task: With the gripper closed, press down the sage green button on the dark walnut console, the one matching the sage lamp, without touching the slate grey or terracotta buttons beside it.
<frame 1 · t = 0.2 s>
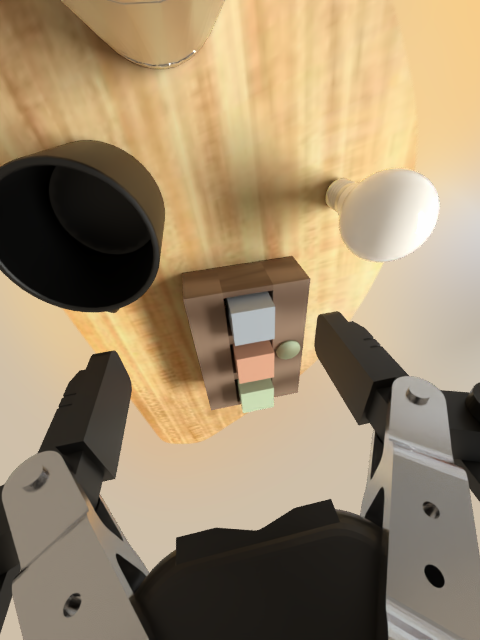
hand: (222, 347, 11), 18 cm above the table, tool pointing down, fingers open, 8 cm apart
console: (243, 327, 34), on the table
sage button: (253, 386, 34), point 5 cm above the table, slide at 0.0 cm
slate button: (249, 312, 26), point 5 cm above the table, slide at 0.0 cm
lightbulb: (334, 191, 25), on the table
mug: (111, 220, 23), on the table
terracotta button: (251, 354, 30), point 5 cm above the table, slide at 0.0 cm
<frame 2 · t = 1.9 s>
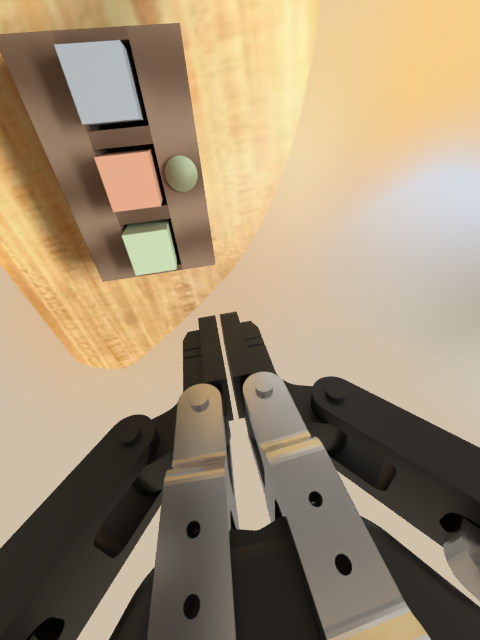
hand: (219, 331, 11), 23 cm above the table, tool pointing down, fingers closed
console: (140, 172, 27), on the table
sage button: (152, 245, 27), point 5 cm above the table, slide at 0.0 cm
slate button: (107, 88, 19), point 5 cm above the table, slide at 0.0 cm
terracotta button: (133, 179, 23), point 5 cm above the table, slide at 0.0 cm
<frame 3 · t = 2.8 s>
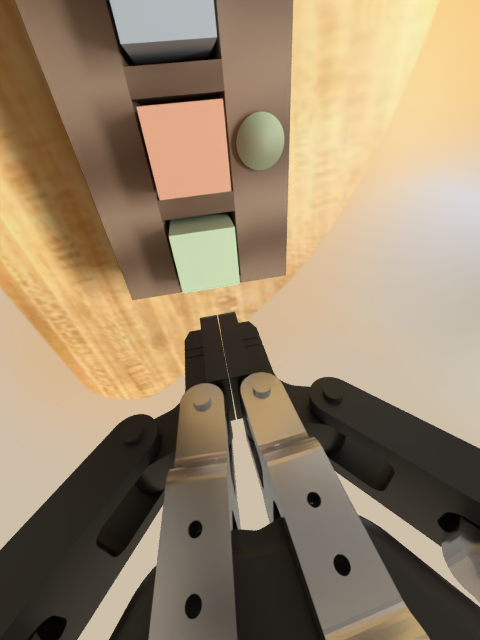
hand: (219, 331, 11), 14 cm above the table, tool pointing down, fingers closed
console: (186, 145, 19), on the table
sage button: (204, 249, 19), point 5 cm above the table, slide at 0.0 cm
terracotta button: (187, 150, 15), point 5 cm above the table, slide at 0.0 cm
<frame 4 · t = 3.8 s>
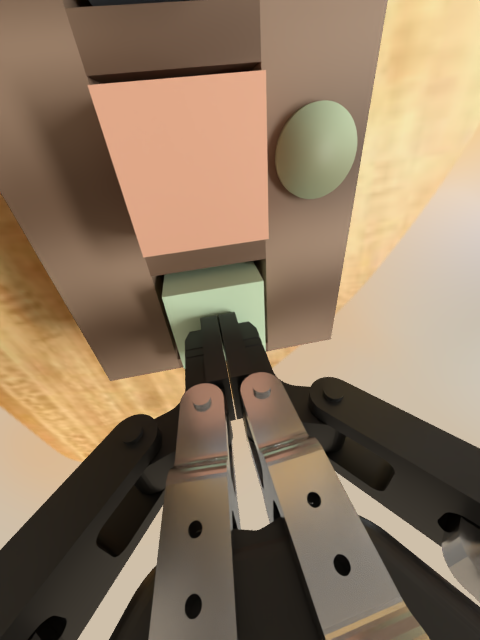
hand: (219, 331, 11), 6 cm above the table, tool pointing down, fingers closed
console: (189, 155, 13), on the table
sage button: (214, 301, 13), point 4 cm above the table, slide at 0.9 cm, touching gripper
terracotta button: (192, 167, 9), point 5 cm above the table, slide at 0.0 cm
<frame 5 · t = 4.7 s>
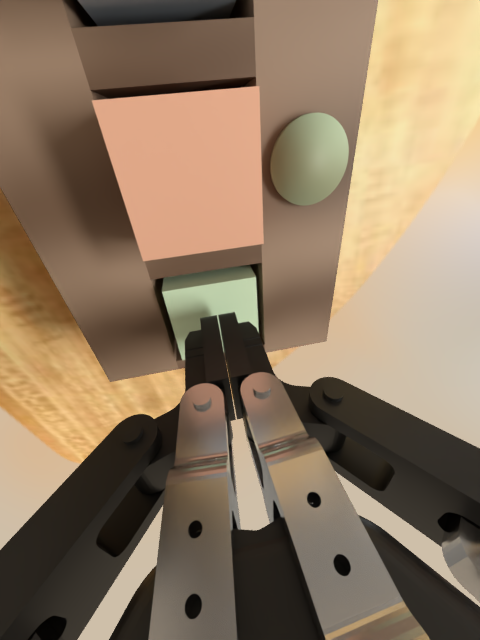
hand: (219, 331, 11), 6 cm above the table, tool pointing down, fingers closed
console: (188, 162, 13), on the table
sage button: (211, 297, 14), point 3 cm above the table, slide at 1.5 cm
terracotta button: (191, 175, 9), point 5 cm above the table, slide at 0.0 cm
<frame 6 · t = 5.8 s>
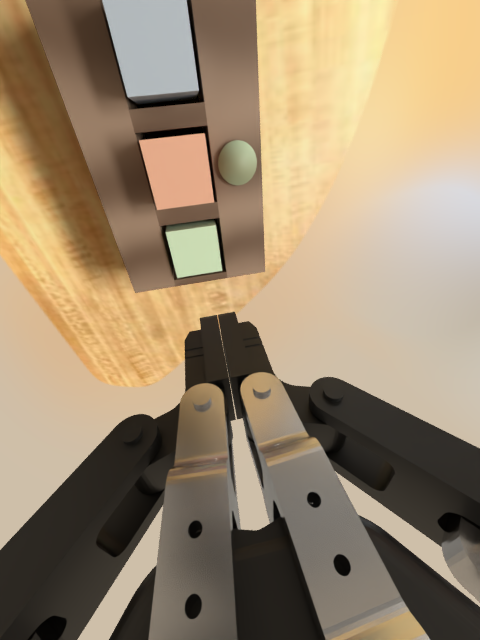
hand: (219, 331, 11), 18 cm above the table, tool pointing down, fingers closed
console: (180, 163, 23), on the table
sage button: (194, 243, 24), point 3 cm above the table, slide at 1.5 cm
slate button: (156, 53, 15), point 5 cm above the table, slide at 0.0 cm
terracotta button: (179, 170, 19), point 5 cm above the table, slide at 0.0 cm
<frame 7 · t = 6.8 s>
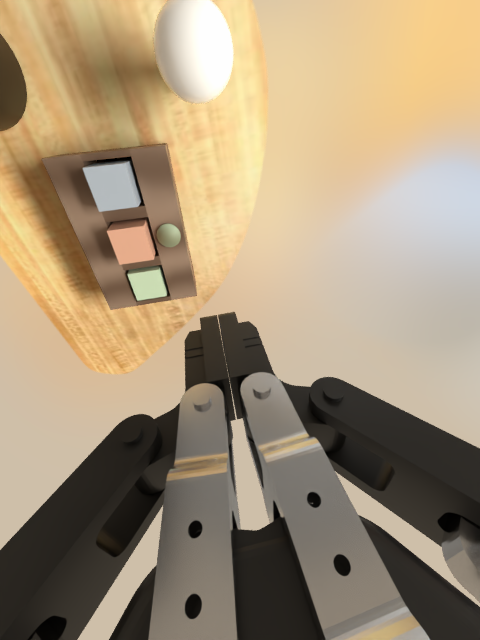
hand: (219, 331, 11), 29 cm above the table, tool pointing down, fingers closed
console: (139, 227, 36), on the table
sage button: (149, 277, 37), point 3 cm above the table, slide at 1.5 cm
slate button: (116, 184, 28), point 5 cm above the table, slide at 0.0 cm
lightbulb: (191, 71, 28), on the table
terracotta button: (134, 239, 32), point 5 cm above the table, slide at 0.0 cm
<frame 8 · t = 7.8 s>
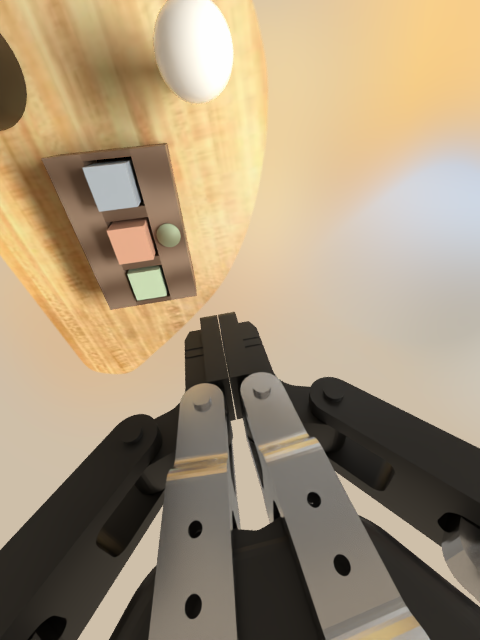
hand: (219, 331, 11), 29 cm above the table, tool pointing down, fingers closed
console: (138, 227, 36), on the table
sage button: (149, 277, 37), point 3 cm above the table, slide at 1.5 cm
slate button: (115, 184, 28), point 5 cm above the table, slide at 0.0 cm
lightbulb: (191, 70, 28), on the table
terracotta button: (133, 239, 32), point 5 cm above the table, slide at 0.0 cm
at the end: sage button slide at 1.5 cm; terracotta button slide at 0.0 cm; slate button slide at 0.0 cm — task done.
